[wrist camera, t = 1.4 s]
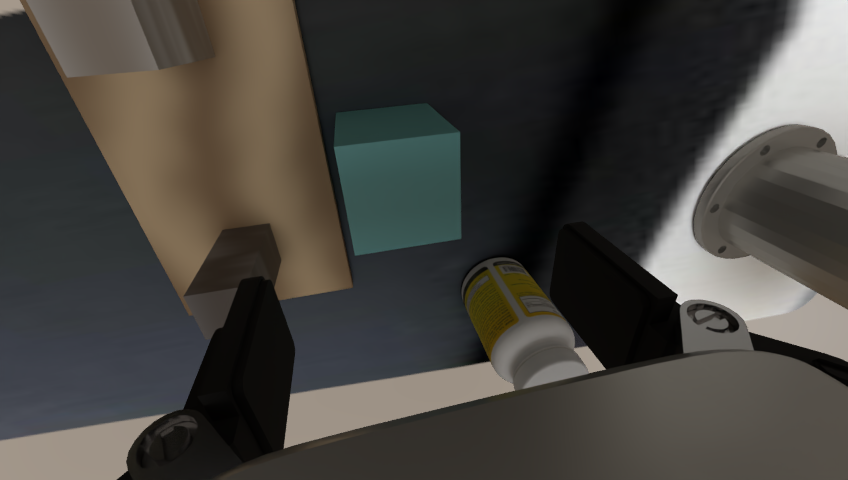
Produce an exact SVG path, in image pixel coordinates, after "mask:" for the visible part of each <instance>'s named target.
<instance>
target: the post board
mask: <svg viewBox="0 0 848 480" xmlns="http://www.w3.org/2000/svg"><path fill="white" fill-rule="evenodd" d="M20 1H21V3H22V5H23V7H24V9H25V11H26V13H27V14H28V16H29V18H30V20H31V22H32V24H33V26H34V27H35V29H36V31H37V33H38V35H39V37H40V39H41V40H42V42H43V44H44V46H45V48H46V50H47V52H48V54H49V55H50V57H51V59H52V61H53V63H54V65H55V67H56V68H57V70H58V72H59V74H60V76H61V78H62V80H63V81H64V83H65V85H66V87H67V89H68V91H69V93H70V94H71V96H72V98H73V100H74V102H75V104H76V106H77V107H78V109H79V111H80V113H81V115H82V117H83V119H84V121H85V122H86V124H87V126H88V128H89V130H90V132H91V134H92V135H93V137H94V139H95V141H96V143H97V145H98V147H99V148H100V150H101V152H102V154H103V156H104V158H105V160H106V161H107V163H108V165H109V167H110V169H111V171H112V173H113V174H114V176H115V178H116V180H117V182H118V184H119V186H120V187H121V189H122V191H123V193H124V195H125V197H126V199H127V201H128V202H129V204H130V206H131V208H132V210H133V212H134V214H135V215H136V217H137V219H138V221H139V223H140V225H141V227H142V228H143V230H144V232H145V234H146V236H147V238H148V240H149V241H150V243H151V245H152V247H153V249H154V251H155V253H156V254H157V256H158V258H159V260H160V262H161V264H162V266H163V268H164V269H165V271H166V273H167V275H168V277H169V279H170V281H171V282H172V284H173V286H174V288H175V290H176V292H177V294H178V295H179V297H180V299H181V301H182V303H183V305H184V307H185V308H186V310H187V312H188V314H189V316H190V315H193V316H194V318H195V320H196V322H197V324H198V326H199V327H200V329H201V331H202V333H203V335H204V337H205V339H211V338H212V336H213V334H214V332H215V330H217V329H218V328H222V327H223V326H224V324H225V321H226V318H227V316H228V313H229V310H230V307H231V305H232V302H233V299H234V297H235V294H236V291H237V289H238V286H239V283H240V281H241V280H242V279H245V278H251V277H257V276H263V277H264V278H265V280H268V279H270V280H271V281H272V283H273V286H274V289H275V291H276V294H277V297H278V300H283V299H289V298H295V297H301V296H307V295H313V294H318V293H324V292H330V291H336V290H342V289H348V288H353V280H352V275H351V270H350V265H349V260H348V256H347V251H346V246H345V241H344V236H343V232H342V227H341V222H340V217H339V213H338V208H337V203H336V198H335V193H334V189H333V184H332V179H331V174H330V169H329V165H328V160H327V155H326V150H325V145H324V141H323V136H322V131H321V126H320V121H319V117H318V112H317V107H316V102H315V97H314V93H313V88H312V83H311V78H310V73H309V69H308V64H307V59H306V54H305V49H304V45H303V40H302V35H301V30H300V25H299V21H298V16H297V11H296V6H295V1H294V0H20Z"/></svg>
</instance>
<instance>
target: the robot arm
mask: <svg viewBox="0 0 848 480" xmlns="http://www.w3.org/2000/svg"><path fill="white" fill-rule="evenodd" d="M694 233H695V237H696V240H697V241H698V243H699V245H700V246H701V247H702V248H704V249H705V250H706V251H708V252H709V253H711V254H713V255H714V256H716V257H720V258H725V259H735V258H740V257H746V256H749V255H751V256H753V257H754V258H756V259H758V260H760V261H762V262H763V263H765V264H767V265H769V266H771V267H772V268H774V269H776V270H778V271H780V272H781V273H783V274H785V275H787V276H788V277H790V278H792V279H794V280H796V281H797V282H799V283H801V284H803V285H805V286H806V287H808V288H810V289H812V290H814V291H815V292H817V293H819V294H821V295H823V296H824V297H826V298H828V299H830V300H832V301H833V302H835V303H837V304H839V305H841V306H842V307H845V308H846V309H848V158H846V157H842V156H838V155H837V150H836V146H835V142H834V140H833V139H832V137H831V136H830V134H828V133H827V132H825V131H824V130H822V129H819V128H815V127H811V126H805V125H789V126H783V127H780V128H777V129H774V130H771V131H769V132H767V133H765V134H763V135H761V136H759V137H757V138H756V139H754V140H753V141H751V142H750V143H748V144H747V145H745V146H744V147H742V148H741V149H740V150H739V151H738V152H737V153H735V154H734V155H733V156H732V157H731V158H730V159H729V160H728V161H727V162H726V163H725V164H724V165H723V166H722V167H721V168H720V169H719V170H718V172H717V173H716V174H715V176H714V177H713V178H712V180H711V181H710V182H709V184H708V186H707V188H706V189H705V191H704V193H703V194H702V196H701V199H700V201H699V204H698V206H697V209H696V214H695V218H694ZM677 296H678V295H677V294H676V293H674V292H673V291H672V290H671V289H669V288H668V287H667V286H666V285H664V284H663V283H662V282H660V281H659V280H658V279H657V278H655V277H654V276H653V275H651V274H650V273H649V272H648V271H646V270H645V269H644V268H642V267H641V266H640V265H639V264H637V263H636V262H635V261H633V260H632V259H631V258H630V257H628V256H627V255H626V254H625V253H623V252H622V251H621V250H619V249H618V248H617V247H616V246H614V245H613V244H612V243H610V242H609V241H608V240H607V239H605V238H604V237H603V236H601V235H600V234H599V233H598V232H596V231H595V230H594V229H593V228H591V227H590V226H589V225H587V224H586V223H584V222H576V223H570V224H566V225H564V227H563V229H561V230H560V231H559V234H558V241H557V247H556V254H555V260H554V267H553V273H552V280H551V287H550V297H551V300H552V302H553V303H554V304H555V306H556V307H557V308H558V309H559V311H560V312H561V313H562V314H563V316H564V317H565V318H566V319H567V321H568V322H569V323H570V324H571V326H572V327H573V328H574V329H575V331H576V332H577V333H578V335H579V336H580V337H581V338H582V340H583V341H584V342H585V343H586V345H587V346H588V347H589V348H590V349H591V351H592V352H593V353H594V355H595V356H596V357H597V358H598V360H599V361H600V362H601V363H602V365H603V366H604V367H605V368H606V370H602V371H597V372H593V373H589V374H585V375H580V376H576V377H572V378H567V379H563V380H559V381H554V382H550V383H546V384H542V385H537V386H533V387H529V388H525V389H520V390H516V391H512V392H508V393H504V394H499V395H495V396H491V397H487V398H483V399H478V400H474V401H471V402H466V403H462V404H457V405H453V406H449V407H445V408H441V409H437V410H433V411H429V412H424V413H420V414H416V415H413V416H408V417H405V418H400V419H396V420H392V421H388V422H383V423H379V424H375V425H371V426H367V427H363V428H359V429H355V430H352V431H348V432H344V433H340V434H336V435H332V436H328V437H324V438H321V439H317V440H313V441H309V442H305V443H302V444H298V445H295V446H291V447H288V448H285V449H283V448H284V440H285V432H286V423H287V415H288V407H289V399H290V391H291V382H292V374H293V366H294V357H295V346H294V342H293V339H292V336H291V333H290V331H289V328H288V325H287V322H286V319H285V317H284V314H283V311H282V308H281V305H280V303H279V300H278V297H277V294H276V291H275V289H274V286H273V283H272V281H271V280H270V279H268V280H265V278H264V277H263V276H257V277H251V278H245V279H242V280H241V281H240V283H239V286H238V289H237V291H236V294H235V297H234V299H233V302H232V305H231V307H230V310H229V313H228V316H227V318H226V321H225V324H224V326H223V327H222V328H218V329H217V330H215V332H214V334H213V336H212V338H211V341H210V343H209V346H208V348H207V351H206V353H205V356H204V359H203V361H202V364H201V366H200V369H199V371H198V374H197V376H196V379H195V381H194V384H193V386H192V389H191V391H190V394H189V396H188V399H187V402H186V404H185V407H184V409H183V410H177V411H174V412H172V413H169V414H166V415H165V416H163V417H161V418H159V419H158V420H156V421H154V422H153V423H152V424H151V425H150V426H148V427H147V428H146V429H145V430H144V431H143V432H142V433H141V434H140V435H139V437H138V438H137V439H136V440H135V441H134V443H133V445H132V447H131V448H130V450H129V452H128V457H127V461H126V463H127V467H128V471H127V472H126V473H124V474H123V475H122V476H121V477H120V478H118V479H117V480H848V362H846V361H844V360H842V359H840V358H837V357H834V356H831V355H828V354H825V353H821V352H818V351H814V350H810V349H807V348H803V347H800V346H796V345H792V344H789V343H786V342H782V341H779V340H775V339H772V338H768V337H765V336H761V335H758V334H754V333H751V332H748V329H747V326H746V324H745V322H744V320H743V319H742V318H741V317H740V316H739V315H738V314H737V313H735V312H734V311H732V310H730V309H729V308H727V307H725V306H722V305H720V304H717V303H714V302H711V301H705V300H689V301H686V302H684V303H683V304H682V305H680V304H678V303H677V302H676V299H677Z"/></svg>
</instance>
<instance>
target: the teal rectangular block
mask: <svg viewBox="0 0 848 480" xmlns="http://www.w3.org/2000/svg"><path fill="white" fill-rule="evenodd" d="M334 150H335V155H336V161H337V166H338V171H339V176H340V181H341V186H342V191H343V196H344V202H345V207H346V212H347V217H348V222H349V227H350V232H351V237H352V243H353V248H354V253H355V256H356V255H362V254H368V253H375V252H381V251H387V250H393V249H400V248H406V247H412V246H419V245H425V244H431V243H437V242H444V241H450V240H456V239H461V174H460V132H459V131H458V130H457V129H456V128H455V127H454V126H452V125H451V124H450V123H449V122H448V121H447V120H446V119H444V118H443V117H442V116H441V115H440V114H439V113H438V112H436V111H435V110H434V109H433V108H432V107H431V106H430V105H428V104H427V103H423V104H413V105H404V106H394V107H385V108H375V109H366V110H356V111H347V112H337V113H336V121H335V136H334Z"/></svg>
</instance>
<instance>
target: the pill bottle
mask: <svg viewBox="0 0 848 480" xmlns="http://www.w3.org/2000/svg"><path fill="white" fill-rule="evenodd" d="M462 300H463V302H464V305H465V307H466V310H467V312H468V314H469V316H470V318H471V320H472V323H473V325H474V327H475V329H476V331H477V333H478V335H479V337H480V340H481V342H482V344H483V346H484V348H485V350H486V353H487V355H488V357H489V359H490V361H491V364H492V365H493V367H494V369H495V371H496V372H497V373H498V375H499V376H500V377H502V378H503V379H504V380H506V381H508V382H510V383H513V384H514V389H515V391H516V390H520V389H525V388H529V387H533V386H537V385H542V384H546V383H550V382H554V381H559V380H563V379H567V378H572V377H576V376H580V375H585V374H589V373H588V369H587V367H586V366H585V364H584V363H583V361H582V360H581V358H580V357H579V356H578V354H577V353H575V351H574V346H575V338H574V334H573V331H572V329H571V327H570V326H569V324H568V323H567V322H566V321H565V319H564V318H563V317H562V316H561V314H560V313H559V312H558V310H557V309H556V308H555V307H554V305H553V304H552V303H551V301H550V300H549V299H548V298H547V296H546V295H545V294H544V292H543V291H542V290H541V289H540V287H539V286H538V285H537V283H536V282H535V281H534V280H533V278H532V277H531V276H530V274H529V273H528V272H527V271H526V269H525V268H524V267H523V266H522V265H521V264H520V263H519V262H517V261H515V260H513V259H510V258H504V257H500V258H493V259H489V260H486V261H484V262H482V263H480V264H478V265H477V266H476V267H474V268H473V269H472V270H471V271H470V272H469V273H468V275H467V276H466V278H465V280H464V282H463V285H462Z"/></svg>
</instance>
